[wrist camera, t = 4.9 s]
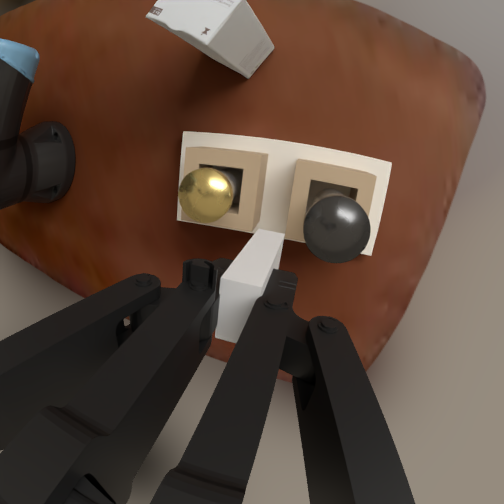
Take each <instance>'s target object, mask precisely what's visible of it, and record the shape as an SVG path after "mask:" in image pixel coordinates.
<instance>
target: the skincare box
mask: <svg viewBox="0 0 504 504" xmlns="http://www.w3.org/2000/svg"><path fill="white" fill-rule="evenodd" d="M146 18H148V19H150V20H152V21H154V22H155V23H157V24H159V25H160V26H162V27H164V28H165V29H167V30H169V31H170V32H172V33H174V34H175V35H177V36H179V37H180V38H182V39H183V40H185V41H186V42H188V43H189V44H191V45H192V46H194V47H196V48H197V49H199V50H200V51H202V52H203V53H205V54H206V55H208V56H209V57H211V58H212V59H214V60H216V61H218V62H219V63H221V64H223V65H225V66H227V67H229V68H231V69H232V70H234V71H236V72H238V73H240V74H242V75H243V76H245V77H246V78H248V79H249V78H250V77H251V75H252V74H253V73H254V72H255V71H256V69H257V68H258V67H259V66H260V64H261V63H262V62H263V61H264V60H265V59H266V58H267V56H268V55H269V54H270V53H271V52H272V51H273V49H274V45H273V43H272V42H271V40H270V38H269V37H268V35H267V33H266V31H265V30H264V28H263V27H262V25H261V23H260V22H259V20H258V18H257V17H256V15H255V14H254V12H253V11H252V9H251V7H250V6H249V4H248V3H247V1H246V0H158V1H157V2H156V3H155V5H154V6H153V7H152V9H151V10H150V11H149V13H148V14H147V15H146Z"/></svg>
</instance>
